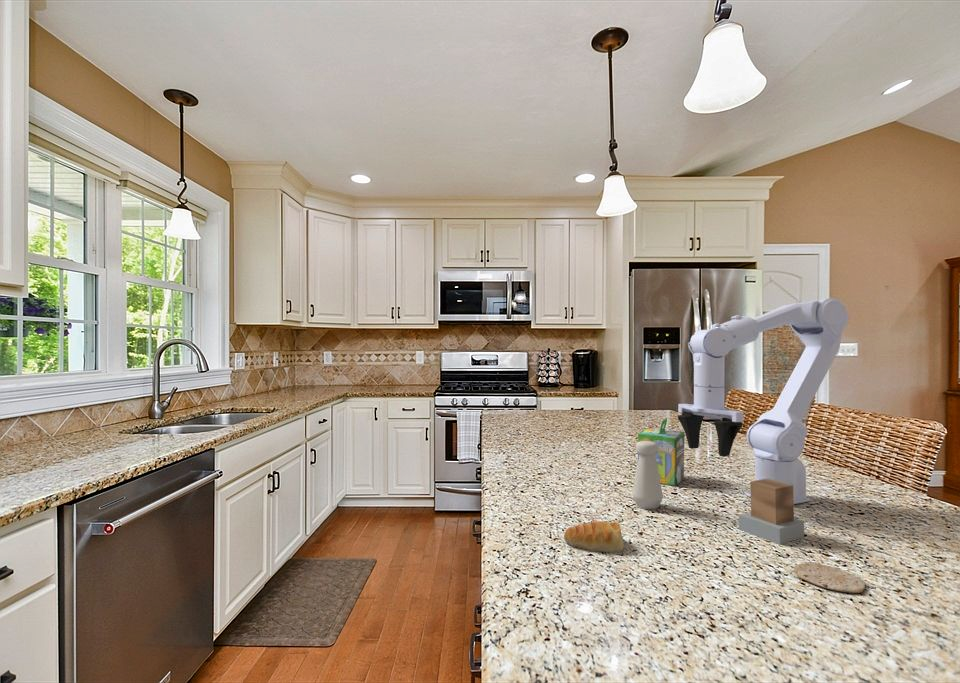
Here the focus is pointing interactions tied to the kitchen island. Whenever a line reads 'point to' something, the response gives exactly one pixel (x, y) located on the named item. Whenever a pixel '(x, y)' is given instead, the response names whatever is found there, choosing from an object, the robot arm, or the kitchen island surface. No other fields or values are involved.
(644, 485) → the salt shaker
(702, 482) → the kitchen island surface
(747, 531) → the base slab
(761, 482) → the walnut block
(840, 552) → the kitchen island surface
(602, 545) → the pastry
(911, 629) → the kitchen island surface
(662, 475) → the chalk box
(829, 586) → the flatbread
